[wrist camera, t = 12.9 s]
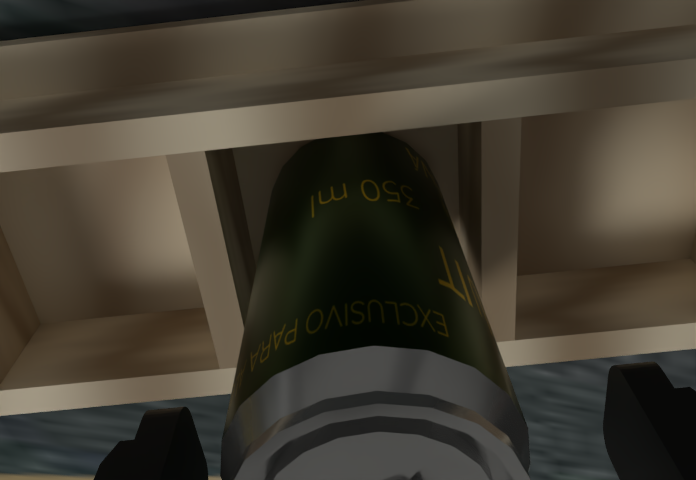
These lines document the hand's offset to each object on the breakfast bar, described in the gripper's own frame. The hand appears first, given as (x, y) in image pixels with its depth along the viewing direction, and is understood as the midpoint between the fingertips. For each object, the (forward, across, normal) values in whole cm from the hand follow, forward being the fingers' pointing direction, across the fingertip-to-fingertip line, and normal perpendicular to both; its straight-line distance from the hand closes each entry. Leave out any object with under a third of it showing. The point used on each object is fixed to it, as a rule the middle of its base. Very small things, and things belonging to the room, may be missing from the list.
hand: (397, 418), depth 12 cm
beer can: (+10, +1, 0) cm, 10 cm away
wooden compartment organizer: (+11, +1, 0) cm, 11 cm away
